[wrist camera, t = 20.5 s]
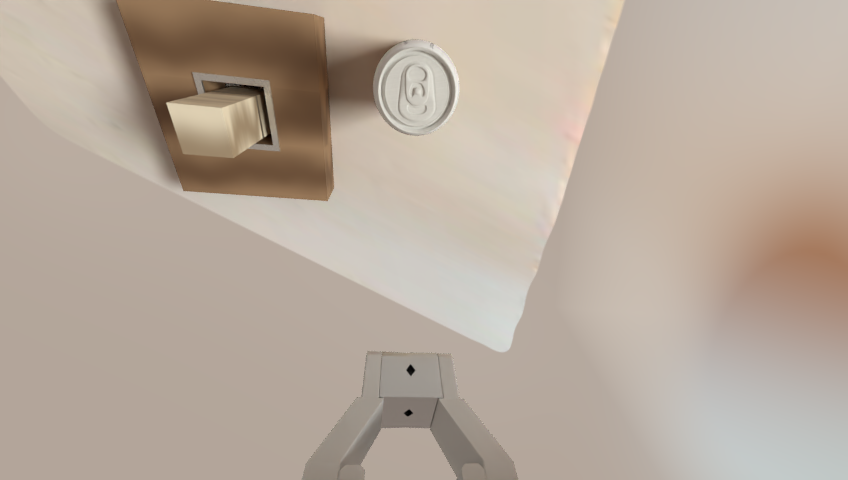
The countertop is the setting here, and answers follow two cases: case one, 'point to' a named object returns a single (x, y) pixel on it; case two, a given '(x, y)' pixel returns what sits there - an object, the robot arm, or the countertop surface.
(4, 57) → the countertop surface
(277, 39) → the walnut board
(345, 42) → the countertop surface
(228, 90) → the birch peg
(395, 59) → the beer can
